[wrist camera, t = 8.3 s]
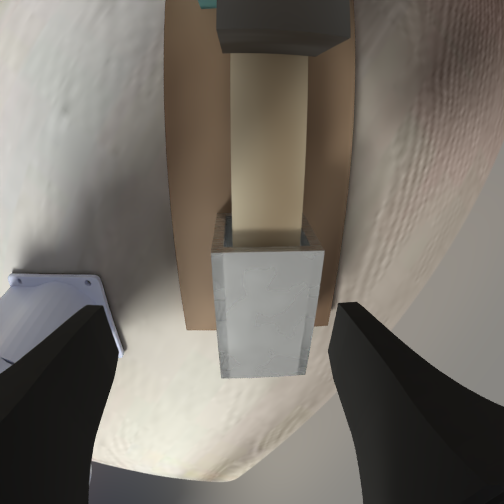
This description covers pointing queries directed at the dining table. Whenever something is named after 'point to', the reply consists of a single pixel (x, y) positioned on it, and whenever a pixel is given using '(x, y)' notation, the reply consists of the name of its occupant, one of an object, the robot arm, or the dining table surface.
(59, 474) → the robot arm
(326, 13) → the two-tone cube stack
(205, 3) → the socket
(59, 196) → the dining table surface
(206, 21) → the base board
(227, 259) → the sleeve
